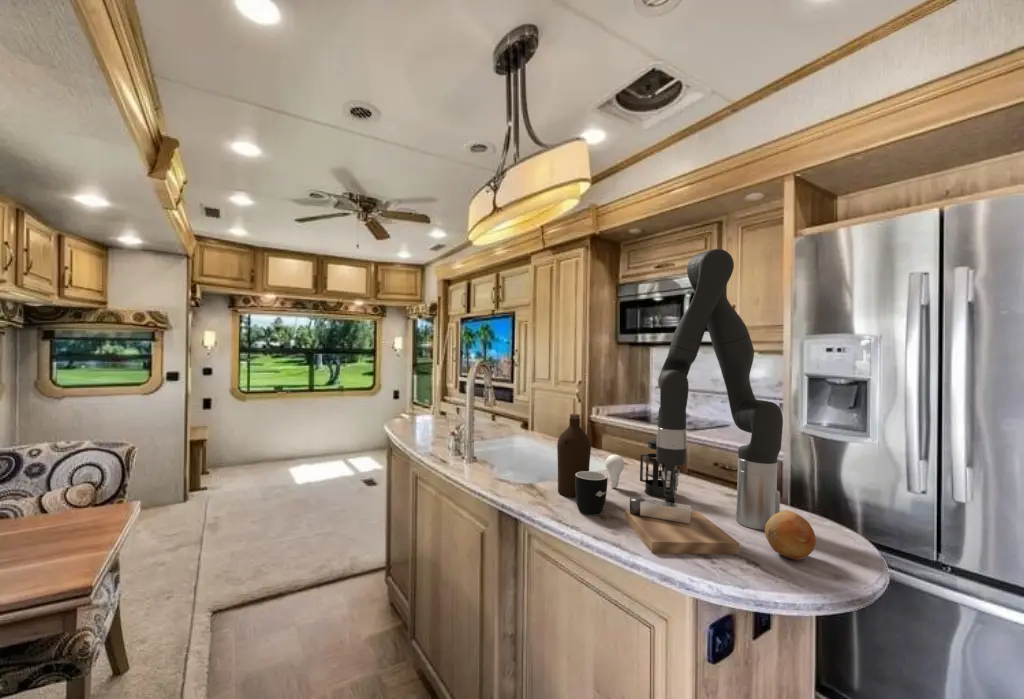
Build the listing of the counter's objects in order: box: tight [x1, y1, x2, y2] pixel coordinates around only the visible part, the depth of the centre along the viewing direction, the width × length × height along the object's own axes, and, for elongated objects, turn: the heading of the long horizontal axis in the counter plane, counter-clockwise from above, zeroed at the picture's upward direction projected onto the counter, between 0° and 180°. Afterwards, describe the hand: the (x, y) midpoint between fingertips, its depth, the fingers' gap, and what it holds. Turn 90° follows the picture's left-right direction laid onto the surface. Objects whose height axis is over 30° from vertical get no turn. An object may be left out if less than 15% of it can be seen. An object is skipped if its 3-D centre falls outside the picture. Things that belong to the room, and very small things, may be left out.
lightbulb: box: [605, 454, 625, 489], centre depth 147 cm, size 6×6×11 cm
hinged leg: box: [628, 496, 692, 524], centre depth 114 cm, size 15×4×4 cm, turn 66°
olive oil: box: [556, 413, 592, 498], centre depth 140 cm, size 11×11×25 cm
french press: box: [639, 421, 666, 499], centre depth 143 cm, size 12×9×23 cm
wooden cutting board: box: [624, 509, 740, 555], centre depth 109 cm, size 20×20×2 cm
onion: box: [764, 509, 817, 561], centre depth 99 cm, size 10×10×10 cm
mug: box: [575, 470, 608, 516], centre depth 125 cm, size 12×9×10 cm
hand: (670, 510), depth 117 cm, fingers closed
